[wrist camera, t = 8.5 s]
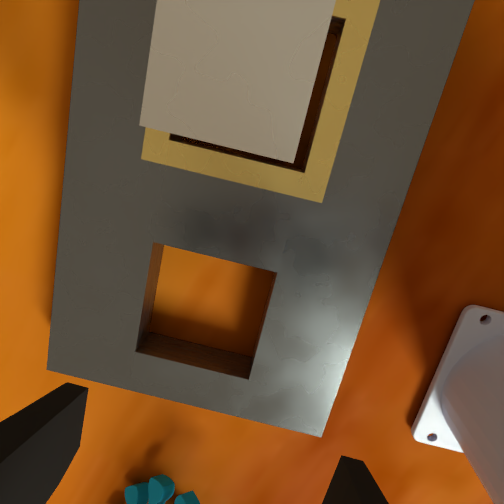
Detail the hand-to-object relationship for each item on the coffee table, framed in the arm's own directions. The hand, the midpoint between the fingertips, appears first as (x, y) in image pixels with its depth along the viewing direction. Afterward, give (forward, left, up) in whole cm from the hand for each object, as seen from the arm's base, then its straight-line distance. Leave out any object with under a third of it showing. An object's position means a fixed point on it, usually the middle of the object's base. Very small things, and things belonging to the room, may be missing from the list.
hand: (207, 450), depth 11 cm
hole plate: (+2, -5, -9) cm, 11 cm away
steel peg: (+2, -10, -9) cm, 14 cm away
